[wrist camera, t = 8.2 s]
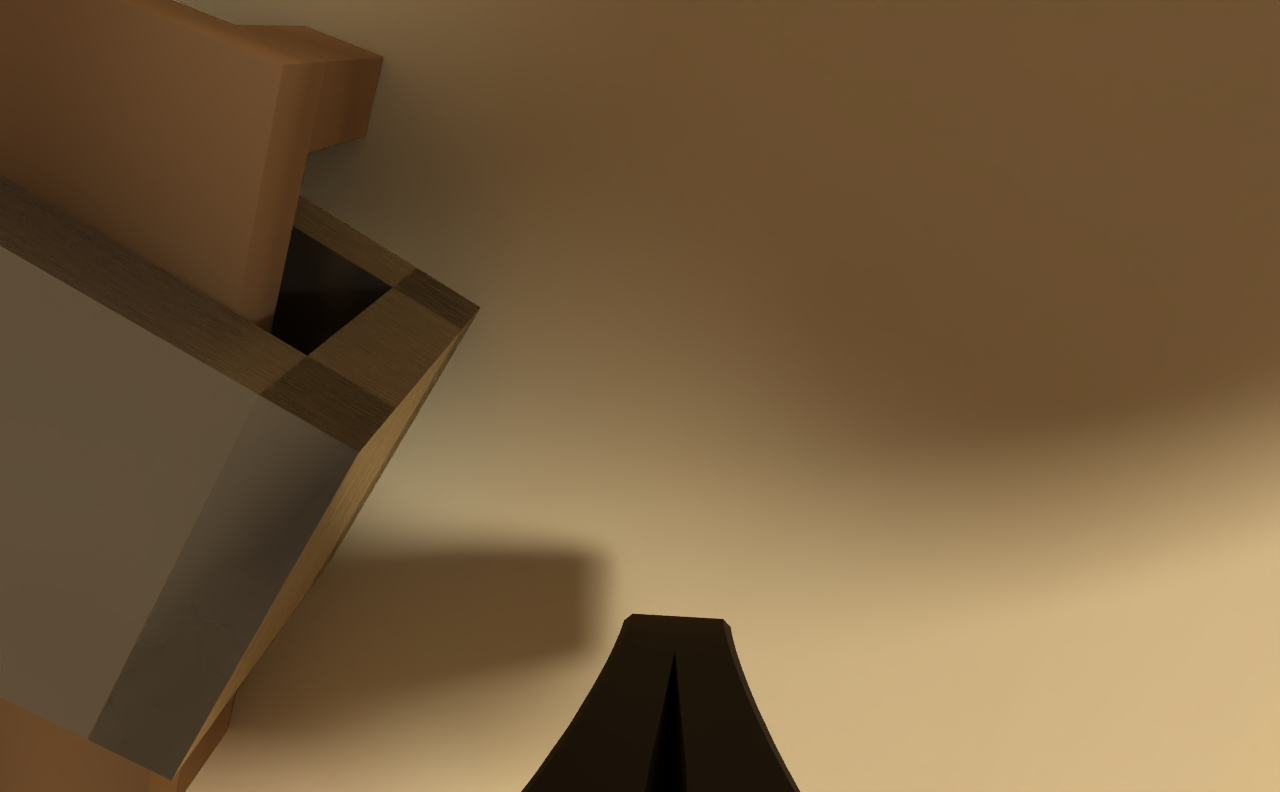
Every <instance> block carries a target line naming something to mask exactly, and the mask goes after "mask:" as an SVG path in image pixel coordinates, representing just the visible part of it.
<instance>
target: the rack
mask: <svg viewBox="0 0 1280 792" xmlns="http://www.w3.org/2000/svg"><path fill="white" fill-rule="evenodd" d="M382 60H383V57H381V56H379V55H376V54H374V53H371V52H368V51H366V50H363V49H361V48H358V47H356V46H353V45H351V44H348V43H346V42H343V41H341V40H338V39H336V38H333V37H331V36H328V35H326V34H323V33H321V32H318V31H316V30H313V29H311V28H308V27H306V26H249V25H233V24H231V23H228V22H226V21H223V20H220V19H218V18H215V17H213V16H210V15H208V14H205V13H203V12H200V11H198V10H195V9H193V8H190V7H188V6H185V5H183V4H180V3H178V2H175V1H173V0H0V175H2V176H4V177H5V178H7V179H9V180H10V181H12V182H14V183H15V184H17V185H19V186H20V187H22V188H24V189H26V190H27V191H29V192H31V193H32V194H34V195H36V196H37V197H39V198H41V199H43V200H44V201H46V202H48V203H49V204H51V205H53V206H54V207H56V208H58V209H59V210H61V211H63V212H65V213H66V214H68V215H70V216H71V217H73V218H75V219H76V220H78V221H80V222H82V223H83V224H85V225H87V226H88V227H90V228H92V229H93V230H95V231H97V232H98V233H100V234H102V235H104V236H105V237H107V238H109V239H110V240H112V241H114V242H115V243H117V244H119V245H121V246H122V247H124V248H126V249H127V250H129V251H131V252H132V253H134V254H136V255H137V256H139V257H141V258H143V259H144V260H146V261H148V262H149V263H151V264H153V265H154V266H156V267H158V268H160V269H161V270H163V271H165V272H166V273H168V274H170V275H171V276H173V277H175V278H176V279H178V280H180V281H182V282H183V283H185V284H187V285H188V286H190V287H192V288H193V289H195V290H197V291H199V292H200V293H202V294H204V295H205V296H207V297H209V298H210V299H212V300H214V301H215V302H217V303H219V304H221V305H222V306H224V307H226V308H227V309H229V310H231V311H232V312H234V313H236V314H238V315H239V316H241V317H243V318H244V319H246V320H248V321H249V322H251V323H253V324H254V325H256V326H258V327H260V328H261V329H263V330H265V331H266V332H268V333H270V334H271V329H272V324H273V319H274V314H275V309H276V304H277V300H278V295H279V290H280V285H281V280H282V275H283V271H284V266H285V261H286V256H287V251H288V246H289V242H290V237H291V232H292V227H293V222H294V217H295V212H296V208H297V203H298V198H299V193H300V188H301V183H302V179H303V174H304V169H305V164H306V159H307V154H308V152H311V151H315V150H318V149H322V148H325V147H328V146H332V145H335V144H338V143H342V142H345V141H348V140H352V139H355V138H358V137H362V136H365V133H366V129H367V125H368V120H369V116H370V112H371V107H372V103H373V99H374V94H375V90H376V86H377V81H378V77H379V73H380V69H381V64H382ZM235 694H236V692H235V693H234V694H233V696H232V697H231V699H230V700H229V701H228V703H227V704H226V706H225V707H224V708H223V710H222V711H221V712H220V714H219V715H218V717H217V718H216V719H215V721H214V722H213V724H212V725H211V726H210V728H209V729H208V731H207V732H206V733H205V735H204V736H203V737H202V739H201V740H200V742H199V743H198V744H197V746H196V747H195V749H194V750H193V751H192V753H191V754H190V756H189V757H188V758H187V760H186V761H185V762H184V764H183V765H182V767H181V768H180V769H179V771H178V772H177V774H176V775H175V776H174V778H173V779H172V781H171V780H169V779H167V778H165V777H163V776H161V775H159V774H157V773H155V772H153V771H151V770H149V769H147V768H145V767H142V766H140V765H138V764H136V763H134V762H132V761H130V760H128V759H126V758H124V757H122V756H120V755H118V754H116V753H114V752H112V751H110V750H108V749H106V748H104V747H102V746H100V745H98V744H96V743H94V742H91V741H89V740H87V739H85V738H83V737H81V736H79V735H77V734H75V733H73V732H71V731H69V730H67V729H65V728H63V727H61V726H59V725H57V724H55V723H53V722H51V721H49V720H47V719H45V718H43V717H40V716H38V715H36V714H34V713H32V712H30V711H28V710H26V709H24V708H22V707H20V706H18V705H16V704H14V703H12V702H10V701H8V700H6V699H4V698H2V697H0V792H185V791H186V789H187V788H188V787H189V785H190V784H191V782H192V781H193V779H194V778H195V776H196V775H197V773H198V772H199V771H200V769H201V768H202V766H203V765H204V763H205V762H206V760H207V759H208V758H209V756H210V755H211V753H212V752H213V750H214V749H215V747H216V746H217V745H218V743H219V742H220V740H221V739H222V737H223V736H224V734H225V733H226V731H227V728H228V724H229V720H230V715H231V711H232V707H233V702H234V698H235Z"/></svg>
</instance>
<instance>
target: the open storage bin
mask: <svg viewBox="0 0 1280 792" xmlns="http://www.w3.org/2000/svg"><path fill="white" fill-rule="evenodd" d="M479 309H480V307H479V306H477V305H475V304H474V303H472V302H471V301H469V300H467V299H466V298H464V297H463V296H461V295H459V294H458V293H456V292H455V291H453V290H451V289H450V288H448V287H446V286H445V285H443V284H442V283H440V282H438V281H437V280H435V279H434V278H432V277H430V276H429V275H427V274H426V273H424V272H422V271H421V270H419V269H418V268H416V267H414V266H413V265H411V264H409V263H408V262H406V261H405V260H403V259H401V258H400V257H398V256H397V255H395V254H393V253H392V252H390V251H389V250H387V249H385V248H384V247H382V246H380V245H379V244H377V243H376V242H374V241H372V240H371V239H369V238H368V237H366V236H364V235H363V234H361V233H360V232H358V231H356V230H355V229H353V228H351V227H350V226H348V225H347V224H345V223H343V222H342V221H340V220H339V219H337V218H335V217H334V216H332V215H331V214H329V213H327V212H326V211H324V210H322V209H321V208H319V207H318V206H316V205H314V204H313V203H311V202H310V201H308V200H306V199H305V198H303V197H302V196H300V195H299V198H298V203H297V208H296V212H295V217H294V222H293V227H292V232H291V237H290V242H289V246H288V251H287V256H286V261H285V266H284V271H283V275H282V280H281V285H280V290H279V295H278V300H277V304H276V309H275V314H274V319H273V324H272V329H271V334H270V333H268V332H266V331H265V330H263V329H261V328H260V327H258V326H256V325H254V324H253V323H251V322H249V321H248V320H246V319H244V318H243V317H241V316H239V315H238V314H236V313H234V312H232V311H231V310H229V309H227V308H226V307H224V306H222V305H221V304H219V303H217V302H215V301H214V300H212V299H210V298H209V297H207V296H205V295H204V294H202V293H200V292H199V291H197V290H195V289H193V288H192V287H190V286H188V285H187V284H185V283H183V282H182V281H180V280H178V279H176V278H175V277H173V276H171V275H170V274H168V273H166V272H165V271H163V270H161V269H160V268H158V267H156V266H154V265H153V264H151V263H149V262H148V261H146V260H144V259H143V258H141V257H139V256H137V255H136V254H134V253H132V252H131V251H129V250H127V249H126V248H124V247H122V246H121V245H119V244H117V243H115V242H114V241H112V240H110V239H109V238H107V237H105V236H104V235H102V234H100V233H98V232H97V231H95V230H93V229H92V228H90V227H88V226H87V225H85V224H83V223H82V222H80V221H78V220H76V219H75V218H73V217H71V216H70V215H68V214H66V213H65V212H63V211H61V210H59V209H58V208H56V207H54V206H53V205H51V204H49V203H48V202H46V201H44V200H43V199H41V198H39V197H37V196H36V195H34V194H32V193H31V192H29V191H27V190H26V189H24V188H22V187H20V186H19V185H17V184H15V183H14V182H12V181H10V180H9V179H7V178H5V177H4V176H2V175H0V697H2V698H4V699H6V700H8V701H10V702H12V703H14V704H16V705H18V706H20V707H22V708H24V709H26V710H28V711H30V712H32V713H34V714H36V715H38V716H40V717H43V718H45V719H47V720H49V721H51V722H53V723H55V724H57V725H59V726H61V727H63V728H65V729H67V730H69V731H71V732H73V733H75V734H77V735H79V736H81V737H83V738H85V739H87V740H89V741H91V742H94V743H96V744H98V745H100V746H102V747H104V748H106V749H108V750H110V751H112V752H114V753H116V754H118V755H120V756H122V757H124V758H126V759H128V760H130V761H132V762H134V763H136V764H138V765H140V766H142V767H145V768H147V769H149V770H151V771H153V772H155V773H157V774H159V775H161V776H163V777H165V778H167V779H169V780H171V781H172V779H173V778H174V776H175V775H176V774H177V772H178V771H179V769H180V768H181V767H182V765H183V764H184V762H185V761H186V760H187V758H188V757H189V756H190V754H191V753H192V751H193V750H194V749H195V747H196V746H197V744H198V743H199V742H200V740H201V739H202V737H203V736H204V735H205V733H206V732H207V731H208V729H209V728H210V726H211V725H212V724H213V722H214V721H215V719H216V718H217V717H218V715H219V714H220V712H221V711H222V710H223V708H224V707H225V706H226V704H227V703H228V701H229V700H230V699H231V697H232V696H233V694H234V693H235V692H236V690H237V689H238V687H239V686H240V685H241V683H242V682H243V680H244V679H245V678H246V676H247V675H248V674H249V672H250V671H251V669H252V668H253V667H254V665H255V664H256V662H257V661H258V660H259V658H260V657H261V655H262V654H263V653H264V651H265V650H266V649H267V647H268V646H269V644H270V643H271V642H272V640H273V639H274V637H275V636H276V635H277V633H278V632H279V630H280V629H281V628H282V626H283V625H284V624H285V622H286V621H287V619H288V618H289V617H290V615H291V614H292V612H293V611H294V610H295V608H296V607H297V605H298V604H299V603H300V601H301V600H302V599H303V597H304V596H305V594H306V593H307V592H308V590H309V589H310V587H311V586H312V585H313V583H314V582H315V580H316V579H317V578H318V576H319V575H320V573H321V572H322V571H323V569H324V568H325V567H326V565H327V564H328V562H329V561H330V560H331V558H332V557H333V555H334V554H335V552H336V550H337V549H338V547H339V545H340V544H341V542H342V540H343V538H344V537H345V535H346V533H347V532H348V530H349V528H350V527H351V525H352V523H353V522H354V520H355V518H356V517H357V515H358V513H359V511H360V510H361V508H362V506H363V505H364V503H365V501H366V500H367V498H368V496H369V495H370V493H371V491H372V490H373V488H374V486H375V484H376V483H377V481H378V479H379V478H380V476H381V474H382V473H383V471H384V469H385V468H386V466H387V464H388V462H389V461H390V459H391V457H392V456H393V454H394V452H395V451H396V449H397V447H398V446H399V444H400V442H401V441H402V439H403V437H404V435H405V434H406V432H407V430H408V429H409V427H410V425H411V424H412V422H413V420H414V419H415V417H416V415H417V414H418V412H419V410H420V408H421V407H422V405H423V403H424V402H425V400H426V398H427V397H428V395H429V393H430V392H431V390H432V388H433V387H434V385H435V383H436V381H437V380H438V378H439V376H440V375H441V373H442V371H443V370H444V368H445V366H446V365H447V363H448V361H449V359H450V358H451V356H452V354H453V353H454V351H455V349H456V348H457V346H458V344H459V343H460V341H461V339H462V338H463V336H464V334H465V332H466V331H467V329H468V327H469V326H470V324H471V322H472V321H473V319H474V317H475V316H476V314H477V312H478V311H479Z"/></svg>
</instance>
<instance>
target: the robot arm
mask: <svg viewBox="0 0 1280 792" xmlns="http://www.w3.org/2000/svg"><path fill="white" fill-rule="evenodd" d="M521 792H800V790H799V789H798V787H797V785H796V783H795V781H794V780H793V778H792V776H791V774H790V772H789V771H788V769H787V767H786V765H785V763H784V761H783V759H782V757H781V755H780V753H779V752H778V750H777V748H776V746H775V744H774V741H773V739H772V737H771V735H770V733H769V731H768V729H767V727H766V724H765V722H764V720H763V718H762V716H761V714H760V712H759V710H758V707H757V705H756V703H755V700H754V698H753V696H752V693H751V691H750V688H749V686H748V683H747V680H746V678H745V675H744V673H743V670H742V667H741V664H740V661H739V658H738V655H737V652H736V649H735V645H734V641H733V637H732V633H731V627H730V626H729V625H728V624H727V623H726V622H725V621H724V620H723V619H713V618H696V617H679V616H662V615H645V614H632V615H630V616H629V617H628V618H627V619H625V620H624V622H623V625H622V628H621V631H620V634H619V636H618V638H617V641H616V643H615V645H614V647H613V649H612V652H611V654H610V656H609V658H608V660H607V662H606V663H605V665H604V667H603V669H602V671H601V673H600V675H599V676H598V678H597V680H596V682H595V684H594V685H593V687H592V689H591V690H590V692H589V694H588V695H587V697H586V699H585V700H584V702H583V704H582V705H581V707H580V709H579V710H578V712H577V713H576V715H575V717H574V718H573V720H572V722H571V723H570V725H569V726H568V728H567V729H566V731H565V732H564V734H563V735H562V736H561V738H560V739H559V741H558V742H557V744H556V745H555V746H554V748H553V749H552V751H551V752H550V753H549V755H548V756H547V758H546V759H545V761H544V762H543V763H542V765H541V766H540V768H539V769H538V771H537V772H536V773H535V775H534V776H533V777H532V779H531V780H530V781H529V782H528V784H527V785H526V786H525V788H524V789H523V790H522V791H521Z"/></svg>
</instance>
